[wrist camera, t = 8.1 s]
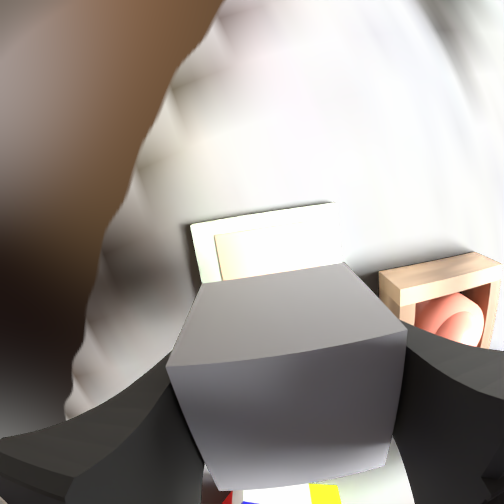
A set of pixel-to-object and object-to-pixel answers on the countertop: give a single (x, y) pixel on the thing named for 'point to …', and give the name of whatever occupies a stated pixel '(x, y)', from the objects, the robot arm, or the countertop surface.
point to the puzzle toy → (287, 495)
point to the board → (267, 242)
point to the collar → (444, 286)
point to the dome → (451, 318)
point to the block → (289, 377)
